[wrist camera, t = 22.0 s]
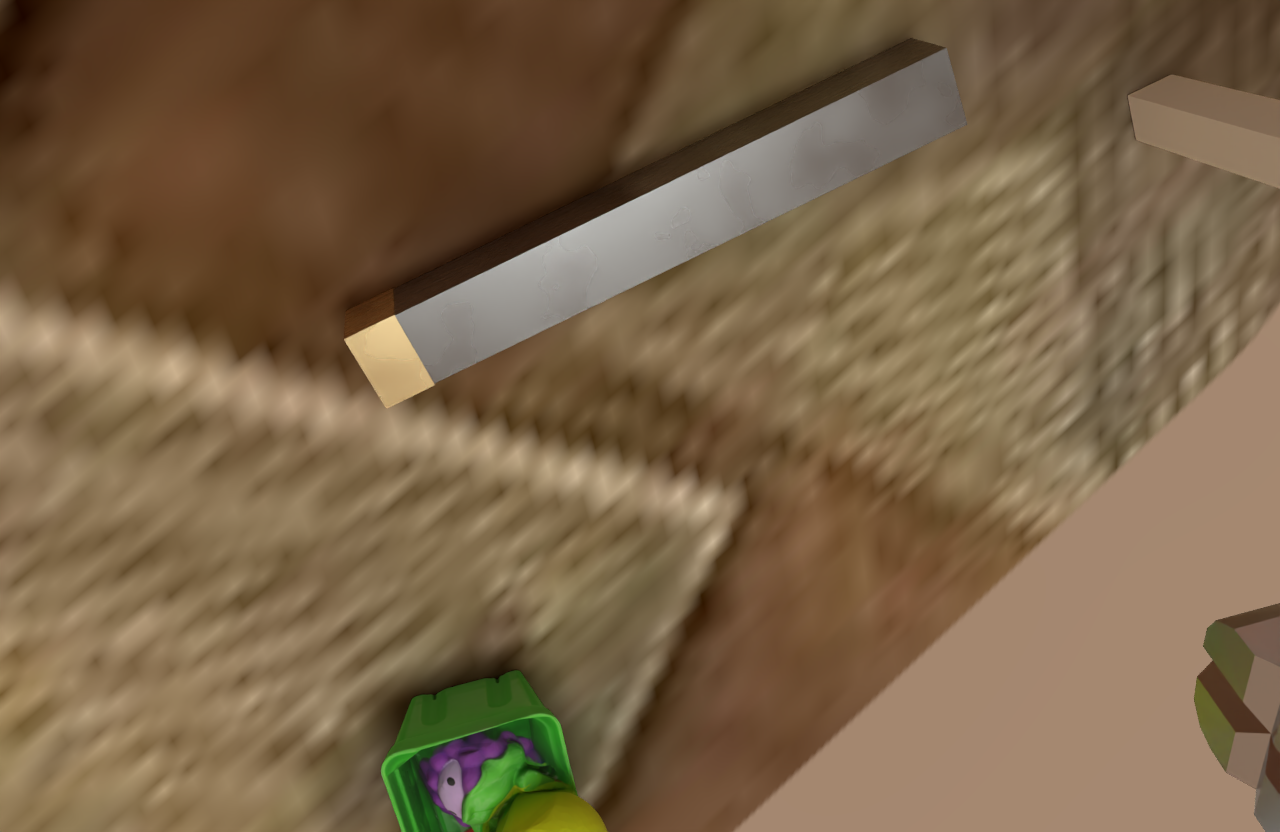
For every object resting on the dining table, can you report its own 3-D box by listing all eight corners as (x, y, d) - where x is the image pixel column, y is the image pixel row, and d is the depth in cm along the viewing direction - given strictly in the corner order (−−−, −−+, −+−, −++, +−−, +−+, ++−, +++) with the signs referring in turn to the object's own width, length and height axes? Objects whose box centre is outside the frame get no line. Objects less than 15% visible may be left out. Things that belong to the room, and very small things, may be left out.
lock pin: (346, 310, 43) (343, 339, 40) (910, 36, 43) (946, 46, 40) (385, 376, 44) (386, 408, 42) (931, 111, 44) (968, 126, 42)
